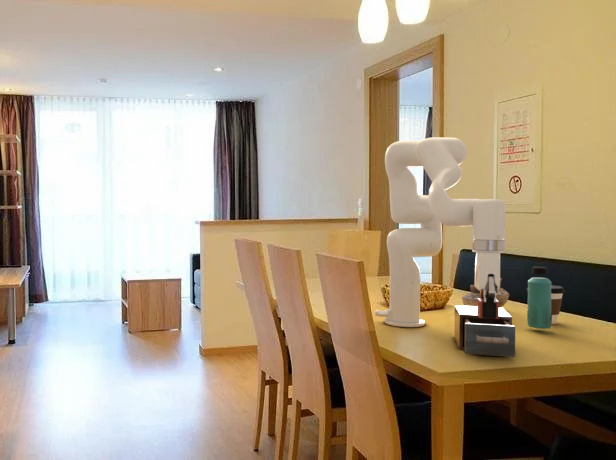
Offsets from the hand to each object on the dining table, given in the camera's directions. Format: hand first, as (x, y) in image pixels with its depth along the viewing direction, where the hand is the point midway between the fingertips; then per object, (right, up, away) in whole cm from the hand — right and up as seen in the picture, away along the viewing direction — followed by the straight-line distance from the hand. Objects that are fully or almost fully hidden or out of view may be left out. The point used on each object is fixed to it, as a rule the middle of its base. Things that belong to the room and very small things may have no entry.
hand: (487, 315), depth 150 cm
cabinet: (+4, -10, +11) cm, 15 cm away
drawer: (0, -9, 0) cm, 9 cm away
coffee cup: (+40, -9, +41) cm, 57 cm away
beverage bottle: (+30, -9, +27) cm, 41 cm away
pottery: (+28, -8, +57) cm, 64 cm away
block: (0, 0, 0) cm, 0 cm away
